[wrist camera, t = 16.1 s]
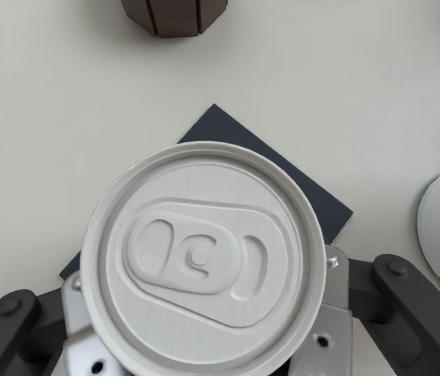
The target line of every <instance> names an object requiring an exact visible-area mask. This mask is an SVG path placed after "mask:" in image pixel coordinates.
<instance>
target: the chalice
mask: <svg viewBox="0 0 440 376" xmlns="http://www.w3.org/2000/svg"><path fill="white" fill-rule="evenodd" d="M417 230H418V236H419V242H420V245H421V248H422V250H423V253H424V256H425V258H426V260H427V261H428V263H429V265H430V266H431V268H432V270H433V271H434V273H435V274H436V275H437V276H438V277H439V278H440V176H439V177H438V178H437V179H436V180H435V181H434V182H433V183H432V184H431V185H430V186H429V187H428V189H427V191H426V192H425V194H424V195H423V197H422V200H421V203H420V206H419V209H418V219H417Z"/></svg>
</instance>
